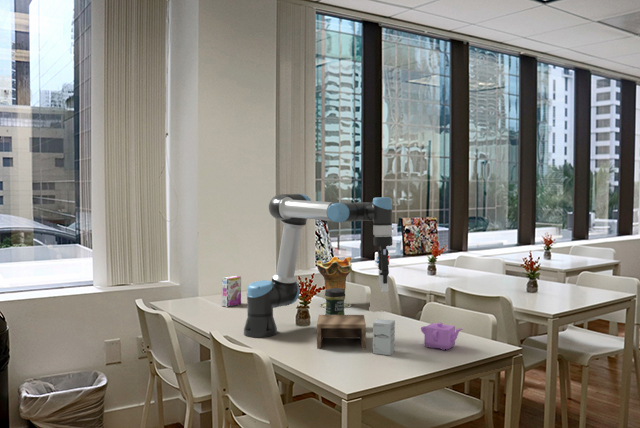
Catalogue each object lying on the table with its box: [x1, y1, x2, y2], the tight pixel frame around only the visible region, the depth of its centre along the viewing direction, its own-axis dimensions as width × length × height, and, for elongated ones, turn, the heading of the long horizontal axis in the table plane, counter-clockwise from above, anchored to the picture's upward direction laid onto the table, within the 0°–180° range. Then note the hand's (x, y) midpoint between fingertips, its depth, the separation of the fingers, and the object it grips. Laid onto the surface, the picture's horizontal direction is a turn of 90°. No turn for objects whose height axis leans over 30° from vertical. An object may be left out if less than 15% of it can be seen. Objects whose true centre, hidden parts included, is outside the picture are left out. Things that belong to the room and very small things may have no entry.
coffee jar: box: [324, 288, 346, 315], centre depth 261 cm, size 10×8×19 cm
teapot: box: [420, 322, 463, 351], centre depth 224 cm, size 18×14×10 cm
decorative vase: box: [316, 256, 353, 309], centre depth 310 cm, size 21×23×28 cm
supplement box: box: [372, 318, 396, 356], centre depth 218 cm, size 7×7×13 cm
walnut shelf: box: [316, 314, 367, 350], centre depth 233 cm, size 20×18×10 cm
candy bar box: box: [221, 275, 242, 307], centre depth 313 cm, size 11×5×16 cm, turn 144°
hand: (383, 288), depth 218 cm, fingers open, 13 cm apart
